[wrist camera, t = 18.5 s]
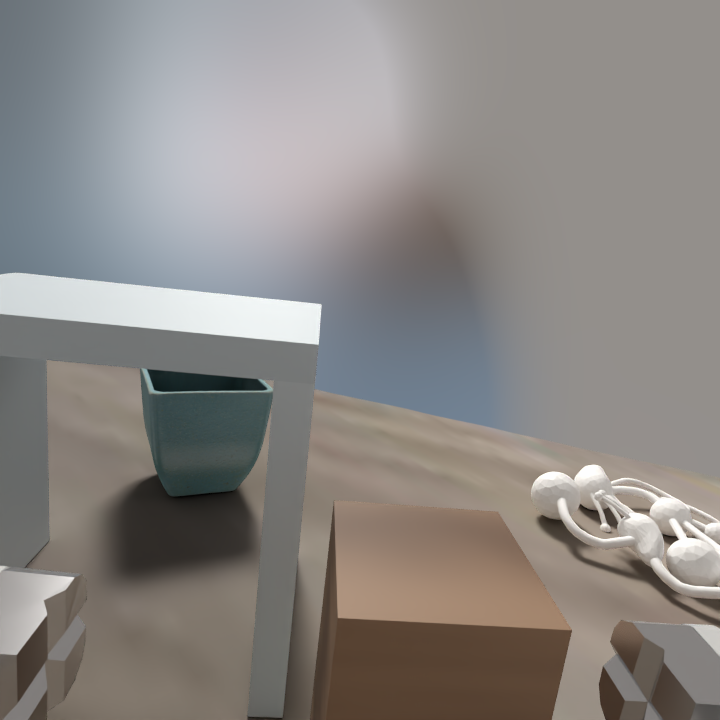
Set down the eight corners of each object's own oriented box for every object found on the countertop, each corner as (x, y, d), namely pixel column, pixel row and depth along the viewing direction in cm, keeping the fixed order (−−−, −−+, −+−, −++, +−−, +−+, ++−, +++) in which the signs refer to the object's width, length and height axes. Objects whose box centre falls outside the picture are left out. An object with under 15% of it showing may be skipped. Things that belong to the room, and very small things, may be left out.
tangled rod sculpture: (856, 617, 37) (878, 565, 37) (800, 689, 28) (828, 622, 28) (599, 491, 52) (611, 452, 51) (509, 512, 43) (522, 465, 42)
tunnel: (282, 717, 23) (318, 344, 19) (-140, 702, 21) (-186, 295, 18) (297, 555, 35) (321, 304, 31) (24, 538, 33) (16, 272, 30)
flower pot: (240, 455, 49) (246, 361, 47) (267, 500, 41) (276, 390, 39) (136, 463, 45) (139, 361, 43) (146, 515, 37) (149, 393, 35)
